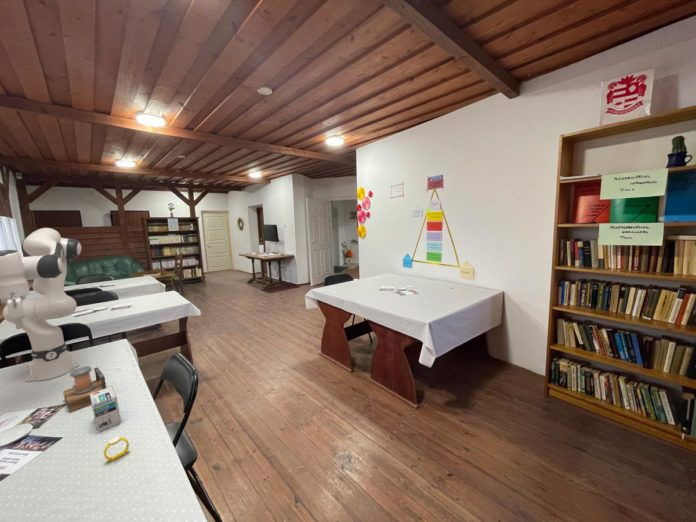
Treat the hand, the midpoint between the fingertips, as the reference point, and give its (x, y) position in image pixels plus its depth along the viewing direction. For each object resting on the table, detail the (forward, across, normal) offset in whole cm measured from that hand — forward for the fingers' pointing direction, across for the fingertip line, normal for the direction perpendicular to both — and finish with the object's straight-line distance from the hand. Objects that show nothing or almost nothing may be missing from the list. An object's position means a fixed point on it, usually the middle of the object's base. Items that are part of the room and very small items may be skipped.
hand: (19, 326), depth 113 cm
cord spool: (+30, -12, -14) cm, 35 cm away
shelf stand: (+34, -12, -14) cm, 39 cm away
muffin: (+34, +5, -15) cm, 38 cm away
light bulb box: (+34, -38, -16) cm, 54 cm away
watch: (+34, -62, -14) cm, 72 cm away
